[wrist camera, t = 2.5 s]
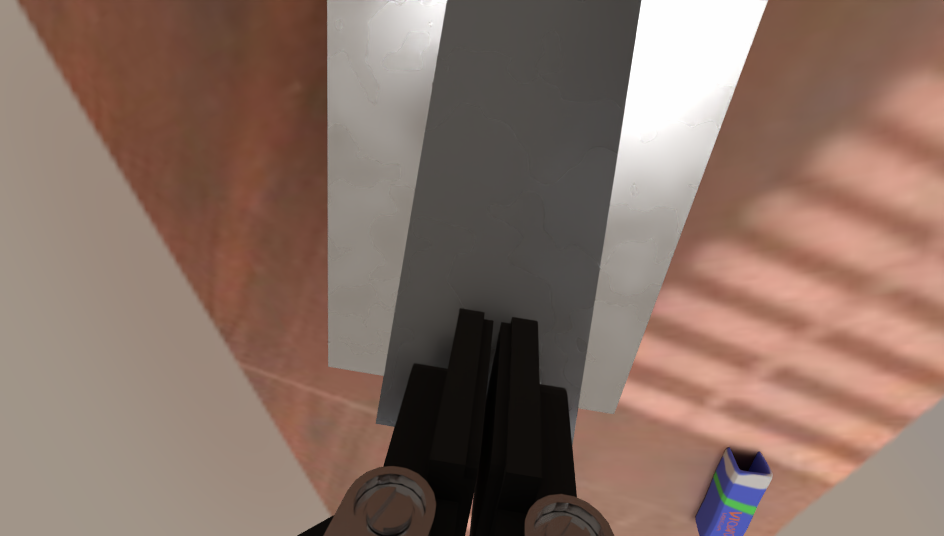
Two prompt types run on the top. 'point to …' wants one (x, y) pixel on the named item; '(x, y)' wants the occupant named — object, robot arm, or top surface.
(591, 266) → the retention lever
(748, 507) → the eraser
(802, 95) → the top surface
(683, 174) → the mounting plate
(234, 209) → the top surface
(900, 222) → the top surface
